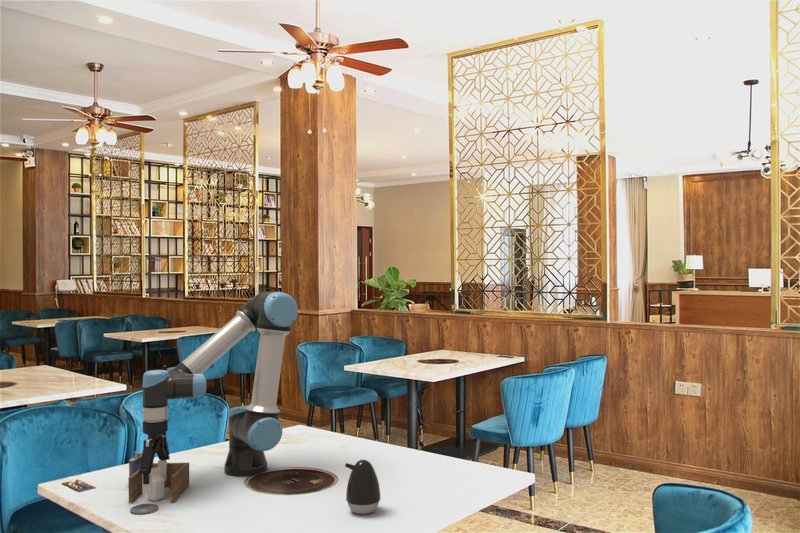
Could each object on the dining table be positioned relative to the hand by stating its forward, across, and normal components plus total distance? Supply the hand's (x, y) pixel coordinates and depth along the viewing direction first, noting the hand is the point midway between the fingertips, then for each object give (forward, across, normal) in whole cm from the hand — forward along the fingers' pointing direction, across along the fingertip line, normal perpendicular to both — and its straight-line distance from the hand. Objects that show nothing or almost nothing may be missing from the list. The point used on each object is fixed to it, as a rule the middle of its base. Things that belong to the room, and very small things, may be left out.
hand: (154, 487), depth 215 cm
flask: (+4, -17, -12) cm, 21 cm away
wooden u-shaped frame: (+4, -4, 0) cm, 6 cm away
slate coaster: (+4, +10, 0) cm, 10 cm away
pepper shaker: (+4, 0, 0) cm, 4 cm away
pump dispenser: (+3, +14, +66) cm, 68 cm away
